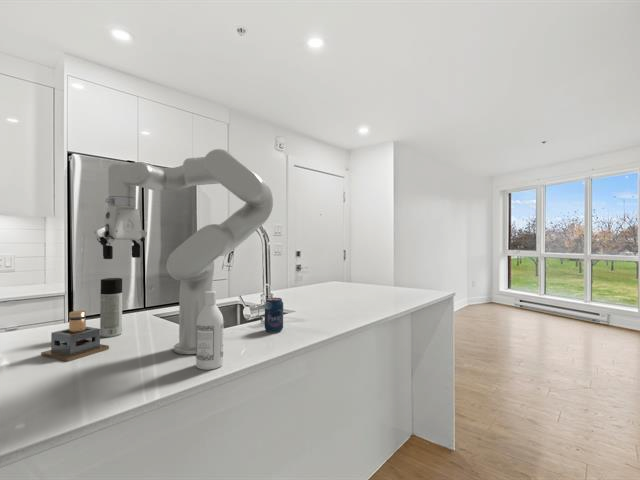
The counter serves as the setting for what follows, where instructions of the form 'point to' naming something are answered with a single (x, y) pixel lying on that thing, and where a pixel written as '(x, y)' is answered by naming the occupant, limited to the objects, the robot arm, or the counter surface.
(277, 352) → the counter surface
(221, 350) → the bath foam
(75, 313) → the copper tube
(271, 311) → the soda can
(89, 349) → the collar stand
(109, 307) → the spray can
